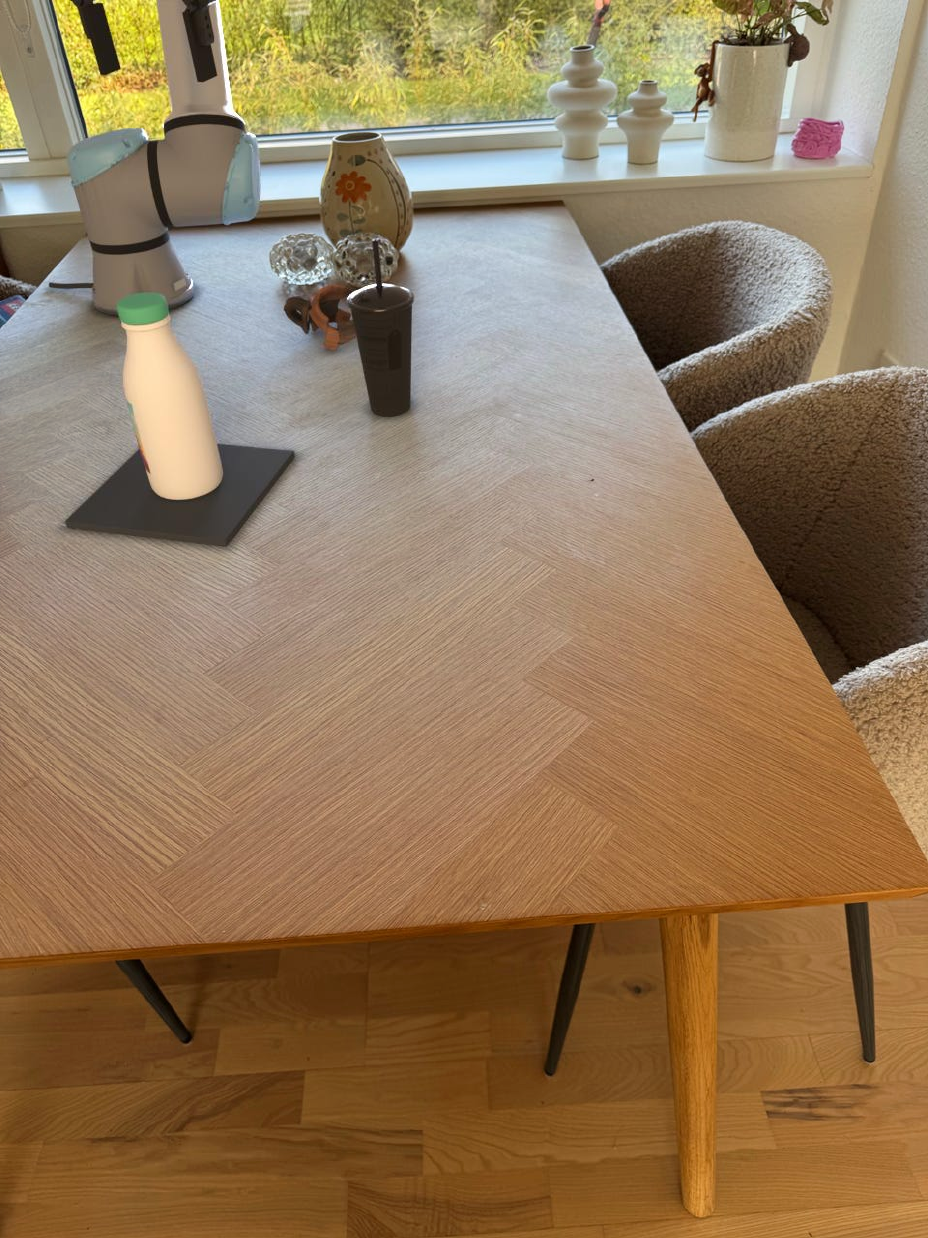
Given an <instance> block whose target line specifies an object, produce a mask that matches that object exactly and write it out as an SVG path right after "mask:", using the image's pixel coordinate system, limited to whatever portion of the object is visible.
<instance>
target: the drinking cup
mask: <svg viewBox="0 0 928 1238" xmlns="http://www.w3.org/2000/svg"><path fill="white" fill-rule="evenodd" d="M371 245H372V246H371V247H372V255H373V256H372V257H373V265H374V276H375V283H373V284H370V285H366V286H364V287H362V288H359V289H358V290H357V289H356V290H357V291H355V292H353V293H352V294H350V295H347V296H348V297H347V298H346V305H347V307H348V308H349V309H350V313H351V318H352V319H351V320H353V323H354V328H355V333H356V338H355V339H356V342H357V347H358V352H359V356H360V361H361V367H362V373H363V376H364V382H365V386H366V391H367V395H368V400H369V401H368V402H369V406H370V410H371V412H372V413H373V414H375V415H376V416H380V417H385V418H387V417H391V418H392V417H397V416H401V415H404V414H406V413H407V412H408V411H409V410H410V409H411V391H412V390H411V389H412V388H411V387H412V335H413V334H412V333H413V332H412V330H413V327H412V326H413V304H414V302H415V295H414V293H413V291H411V290H410V289H408V288H406V287H403V286H399V285H396V284H392V283H383V279H382V268H381V267H382V266H381V257H380V256H381V255H380V246H379V238H372V239H371Z"/></svg>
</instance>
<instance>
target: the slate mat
mask: <svg viewBox="0 0 928 1238" xmlns="http://www.w3.org/2000/svg"><path fill="white" fill-rule="evenodd" d="M217 447H218V451H219V455H220V460H221V464H222V469H223V477H222V481H221V483H220V484H219V485H218V486H217V487H216V488H215V489H214V490H212V491H211V492H209V493H207V494H205V495H202V496H199V497H195V498H191V499H185V500H172V499H166V498H163V497H161V496H159V495H157V494H156V493H155V491H154V490H153V489H152V488H151V485H150V482H149V479H148V475H147V472H146V468H145V465H144V462H143V458H142V455H141V451H140V448H138V449H137V450H136V451H135V452H134V454H132V455H131V456H130V457H129V458H128V459H127V460H126V461H125V462H124V463H123V464H122V465H121V466H120V467H119V468H117V470H116V471H115V472H114V473H113V474H112V475H111V476H109V478H108V479H106V480H105V482H103V483H102V484H101V485H100V486H99V488H97V489H96V490H95V492H93V493H92V494H91V495H90V496H89V497H88V498H87V499H86V500H85V501H84V502H83V503H82V504H81V505H80V506H79V507H77V509H76V510H75V511H74V512H73V513H71V515H69V517H67V519H66V520H65V521H64V523H65V526H66V528H67V529H68V528H69V529H74V530H75V529H76V530H77V529H78V530H85V531H93V532H102V533H109V534H119V535H127V536H134V537H141V538H143V537H144V538H151V539H160V540H167V541H168V540H169V541H175V542H176V541H177V542H183V543H184V542H186V543H194V544H202V545H209V546H217V547H228V545H229V544H230V543H231V542H232V540H233V539H234V538H235V536H236V535H237V534H238V532H239V531H240V530H241V528H242V527H243V526H244V524H245V523H246V522H247V520H248V519H249V518H250V517H251V516H252V515H253V512H254V511H255V510H256V509H257V507H258V506H260V503H261V502H262V501H263V500H264V498H265V497H266V496H267V494H268V493H269V492H270V491H271V489H272V488H273V486H274V485H275V484H276V483H277V481H278V480H279V479H280V477H281V476H282V475H283V473H284V472H285V471H286V470H287V468H288V467H289V466H290V465H291V463H292V462H293V460H294V459H295V458H296V455H295V454H296V453H295V451H294V450H289V449H279V448H278V449H277V448H266V447H255V446H246V445H235V444H227V443H226V444H225V443H217Z"/></svg>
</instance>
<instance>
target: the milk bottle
mask: <svg viewBox="0 0 928 1238" xmlns="http://www.w3.org/2000/svg"><path fill="white" fill-rule="evenodd" d="M117 311H118V315H119V316H118V318H119V320H120V322H121V324H120V326H121V327H122V328H123V329H124V330H125V334H126V351H125V356H124V361H123V362H124V363H123V368H122V386H123V392H124V396H125V400H126V405H127V409H128V412H129V416H130V420H131V423H132V426H133V430H134V434H135V438H136V441H137V445H138V447H139V448H138V449H140V451H141V455H142V458H143V462H144V465H145V468H146V472H147V475H148V479H149V482H150V485H151V488H152V489H153V490H154V491H155V493H156V494H157V495H159V496H161V497H163V498H166V499H172V500H185V499H191V498H195V497H199V496H202V495H205V494H207V493H209V492H211V491H212V490H214V489H215V488H216V487H217V486H218V485H219V484H220V483H221V481H222V477H223V469H222V464H221V460H220V455H219V451H218V447H217V444H218V442H217V439H216V435H215V434H216V433H215V430H214V425H213V421H212V417H211V413H210V409H209V404H208V401H207V397H206V393H205V389H204V386H203V382H202V378H201V376H200V373H199V371H198V368H197V366H196V365H195V362H194V361H193V359H192V358H191V356H190V355H189V353H188V352H187V350H185V348H184V347H183V346H182V344H181V343H180V341H179V340H178V338H177V337H176V335H175V333H174V331H173V330H172V327H171V324H170V321H171V319H172V318H171V315H170V310H169V309H168V305H167V301H166V299H165V297H164V296H163V295H161V294H158V293H151V292H147V293H137V294H133V295H129V296H126V297H124V298H122V299H121V300H119V301H118V303H117Z"/></svg>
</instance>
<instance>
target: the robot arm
mask: <svg viewBox="0 0 928 1238" xmlns="http://www.w3.org/2000/svg"><path fill="white" fill-rule="evenodd" d="M69 1H70V2H72V4H73V5H74V6H75V7H76V9H77V12H78V15H79V18H80V22H81V25H82V29H83V32H84V35H85V37H86V38H87V40H90V44H91V47H92V51H93V54H94V58H95V61H96V64H97V68H98V71H99V74H100V76H108V75H110V74H113V73H114V72H117V71H120V70H121V69H122V67H121V65H120V60H119V57H118V52H117V50H116V47H115V43H114V38H113V35H112V30H111V27H110V24H109V20H108V17H107V12H106V10H105V6H104V3H103V2H98V0H69ZM155 1H156V10H157V16H158V23H159V29H160V31H159V32H160V36H161V44H162V51H163V58H164V66H165V73H166V78H167V79H166V80H167V87H168V95H169V101H170V107H171V112H170V113H169V114H168V116H166V118H165V119H164V120H163V122H162V127H163V136H164V137H163V138H162V139H151V140H150V139H149V135H148V134H147V133H146V131H145V130H144V129H143V128H141V127H133V128H132V127H127V128H120V129H119V128H118V129H114V130H111V131H110V130H109V131H105V132H102V133H99V134H96V135H92V136H90V137H87V138H85V139H82V140H81V141H78V142H77V143H75V144H74V145H72V146H71V147H70V149H69V150H68V152H67V155H66V161H67V166H68V171H69V175H70V180H71V181H70V184H71V186H72V187H73V191H74V194H75V197H76V201H77V204H78V207H79V208H78V209H79V211H80V215H81V217H82V221H83V225H84V228H85V232H86V235H87V239H88V241H89V244H90V249H91V252H92V282H74V283H73V282H71V283H57V282H48V287H49V288H51V289H60V290H73V289H74V290H75V289H91V297H92V300H93V304H94V306H95V309H96V310H98V312H101V313H102V314H106V315H110V316H117V317H119V315H118V311H117V303H118V301H119V300H121V299H122V298H124V297H126V296H129V295H133V294H137V293H147V292H151V293H158V294H161V295H163V296H164V297H165V299H166V301H167V305H168V309H169V311H170V310H172V309H175V308H178V307H180V306H182V305H184V304H186V303H187V302H188V301H191V299H192V298H193V297H194V295H195V287H194V283H193V279H192V278H191V275H190V273H189V272H188V271H187V270H186V269H185V267H184V265H183V263H182V260H181V258H180V256H179V255H178V252H177V251H176V249H175V247H174V245H173V243H172V240H171V236H170V232H169V228H181V227H194V226H195V227H196V226H209V225H210V226H211V225H222V224H224V225H225V226H230V225H231V224H235V223H243V222H249V221H251V220H253V219H254V218H255V217H256V215H257V214H258V212H259V208H260V203H261V190H262V189H261V182H262V180H261V179H262V178H261V161H260V148H259V142H258V139H257V137H256V135H255V134H253V133H251V132H247V129H246V122H245V121H244V119H243V118H242V117H240V116H239V115H238V114H237V113H236V112H235V110H234V109H233V101H232V94H231V87H230V80H229V71H228V65H227V64H228V63H227V55H226V47H225V39H224V34H223V33H224V32H223V26H222V18H221V17H222V16H221V8H220V2H219V1H220V0H155ZM94 2H95V3H94Z"/></svg>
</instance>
